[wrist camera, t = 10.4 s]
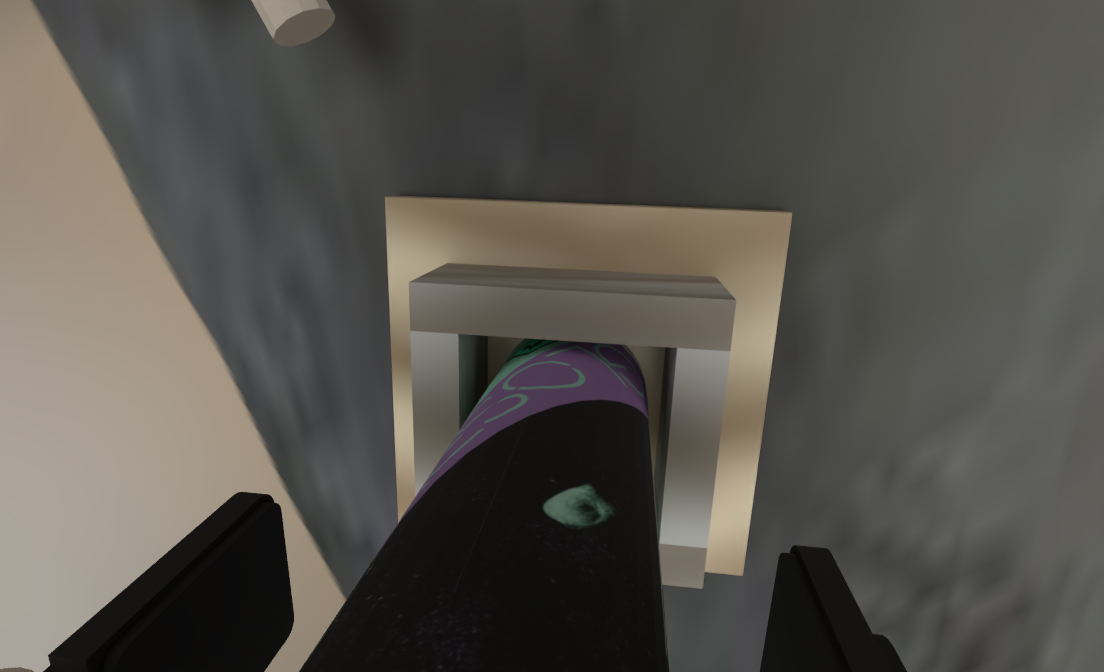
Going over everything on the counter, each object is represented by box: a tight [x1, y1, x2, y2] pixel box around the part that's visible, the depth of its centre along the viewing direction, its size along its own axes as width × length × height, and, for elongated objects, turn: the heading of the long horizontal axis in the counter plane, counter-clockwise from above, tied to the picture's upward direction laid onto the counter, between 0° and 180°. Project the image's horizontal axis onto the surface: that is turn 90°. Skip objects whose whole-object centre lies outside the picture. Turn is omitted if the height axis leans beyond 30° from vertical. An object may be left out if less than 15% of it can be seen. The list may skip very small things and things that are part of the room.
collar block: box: [385, 196, 792, 589], centre depth 21 cm, size 14×14×5 cm
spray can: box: [299, 338, 669, 672], centre depth 13 cm, size 6×6×20 cm
